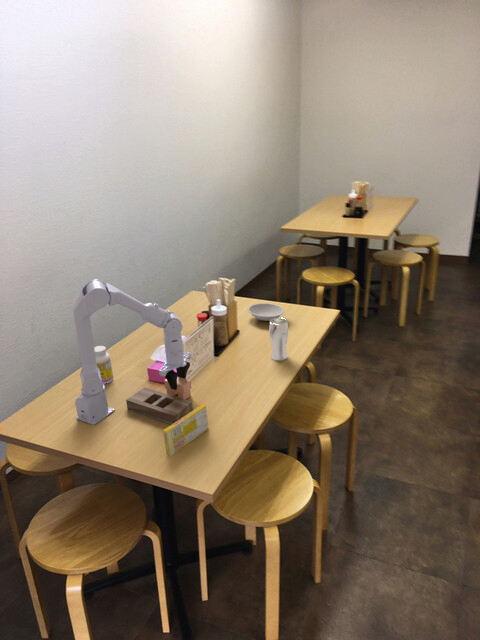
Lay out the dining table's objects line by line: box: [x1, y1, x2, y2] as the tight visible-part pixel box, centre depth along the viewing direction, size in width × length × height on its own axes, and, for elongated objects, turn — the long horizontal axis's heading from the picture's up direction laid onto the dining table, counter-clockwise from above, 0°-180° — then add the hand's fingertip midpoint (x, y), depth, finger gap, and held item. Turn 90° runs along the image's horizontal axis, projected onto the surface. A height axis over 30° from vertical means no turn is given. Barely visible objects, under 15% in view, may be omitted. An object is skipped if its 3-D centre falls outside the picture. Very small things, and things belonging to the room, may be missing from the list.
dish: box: [247, 302, 285, 322], centre depth 236 cm, size 18×14×5 cm
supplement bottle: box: [94, 345, 114, 385], centre depth 192 cm, size 7×7×13 cm
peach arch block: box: [164, 377, 192, 400], centre depth 180 cm, size 4×8×6 cm, turn 58°
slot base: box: [125, 387, 194, 425], centre depth 173 cm, size 9×20×4 cm, turn 58°
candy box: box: [162, 404, 210, 457], centre depth 156 cm, size 16×2×8 cm, turn 141°
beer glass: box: [268, 317, 289, 362], centre depth 201 cm, size 7×7×15 cm
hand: (178, 385), depth 180 cm, fingers closed on peach arch block, 4 cm apart
